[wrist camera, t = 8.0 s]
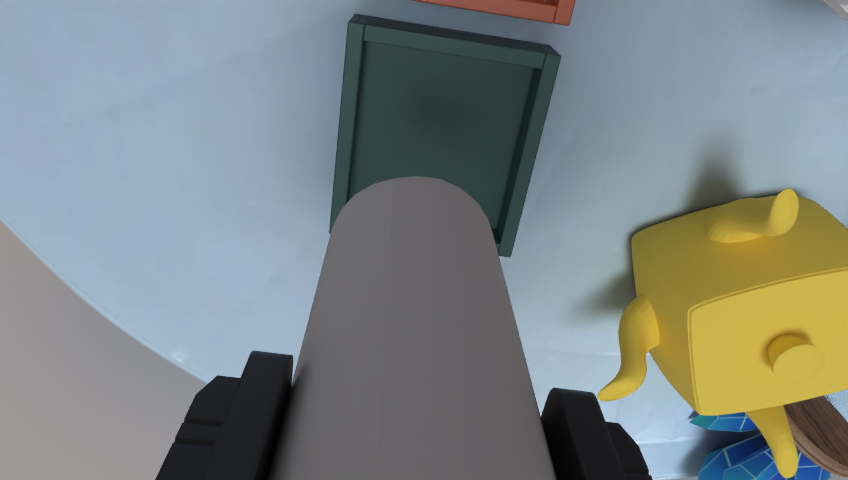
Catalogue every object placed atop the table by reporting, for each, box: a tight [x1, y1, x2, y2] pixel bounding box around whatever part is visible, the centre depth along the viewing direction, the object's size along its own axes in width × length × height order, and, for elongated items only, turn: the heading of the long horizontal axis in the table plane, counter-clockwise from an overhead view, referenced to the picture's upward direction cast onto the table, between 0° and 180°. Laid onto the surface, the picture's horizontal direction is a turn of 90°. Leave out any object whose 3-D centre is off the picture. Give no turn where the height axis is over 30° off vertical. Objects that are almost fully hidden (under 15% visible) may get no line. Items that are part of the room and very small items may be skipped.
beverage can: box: [267, 176, 557, 480], centre depth 13 cm, size 5×5×12 cm
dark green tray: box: [329, 14, 561, 257], centre depth 33 cm, size 11×12×3 cm
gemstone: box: [690, 396, 848, 480], centre depth 43 cm, size 7×9×12 cm
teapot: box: [598, 189, 848, 478], centre depth 34 cm, size 15×14×10 cm
